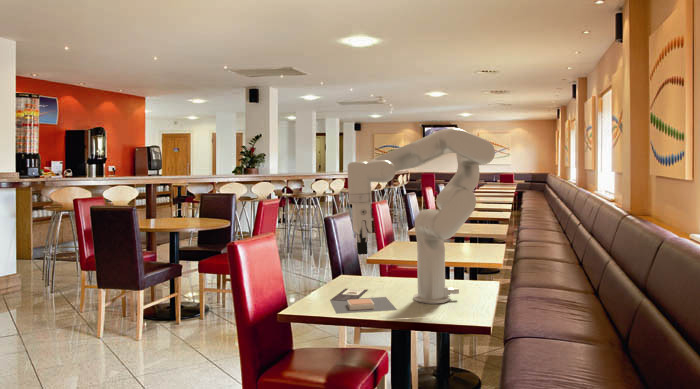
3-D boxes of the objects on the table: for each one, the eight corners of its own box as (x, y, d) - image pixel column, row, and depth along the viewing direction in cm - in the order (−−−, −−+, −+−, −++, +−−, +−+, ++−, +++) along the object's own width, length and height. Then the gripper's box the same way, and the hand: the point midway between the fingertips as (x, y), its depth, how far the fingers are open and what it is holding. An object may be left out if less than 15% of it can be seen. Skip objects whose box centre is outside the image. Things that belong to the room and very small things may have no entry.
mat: (385, 297, 200) (385, 296, 199) (397, 311, 182) (397, 309, 182) (329, 301, 197) (329, 299, 197) (336, 314, 179) (336, 313, 179)
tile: (370, 298, 191) (374, 303, 184) (370, 303, 191) (374, 308, 184) (347, 299, 189) (350, 304, 183) (347, 304, 190) (350, 310, 183)
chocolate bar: (330, 299, 196) (345, 288, 213) (330, 302, 196) (345, 290, 214) (354, 301, 194) (368, 289, 211) (355, 303, 194) (368, 292, 211)
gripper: (375, 199, 178) (378, 257, 180) (366, 196, 193) (369, 249, 194) (352, 201, 177) (355, 258, 178) (345, 198, 192) (347, 251, 193)
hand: (362, 253), depth 186 cm, fingers closed
